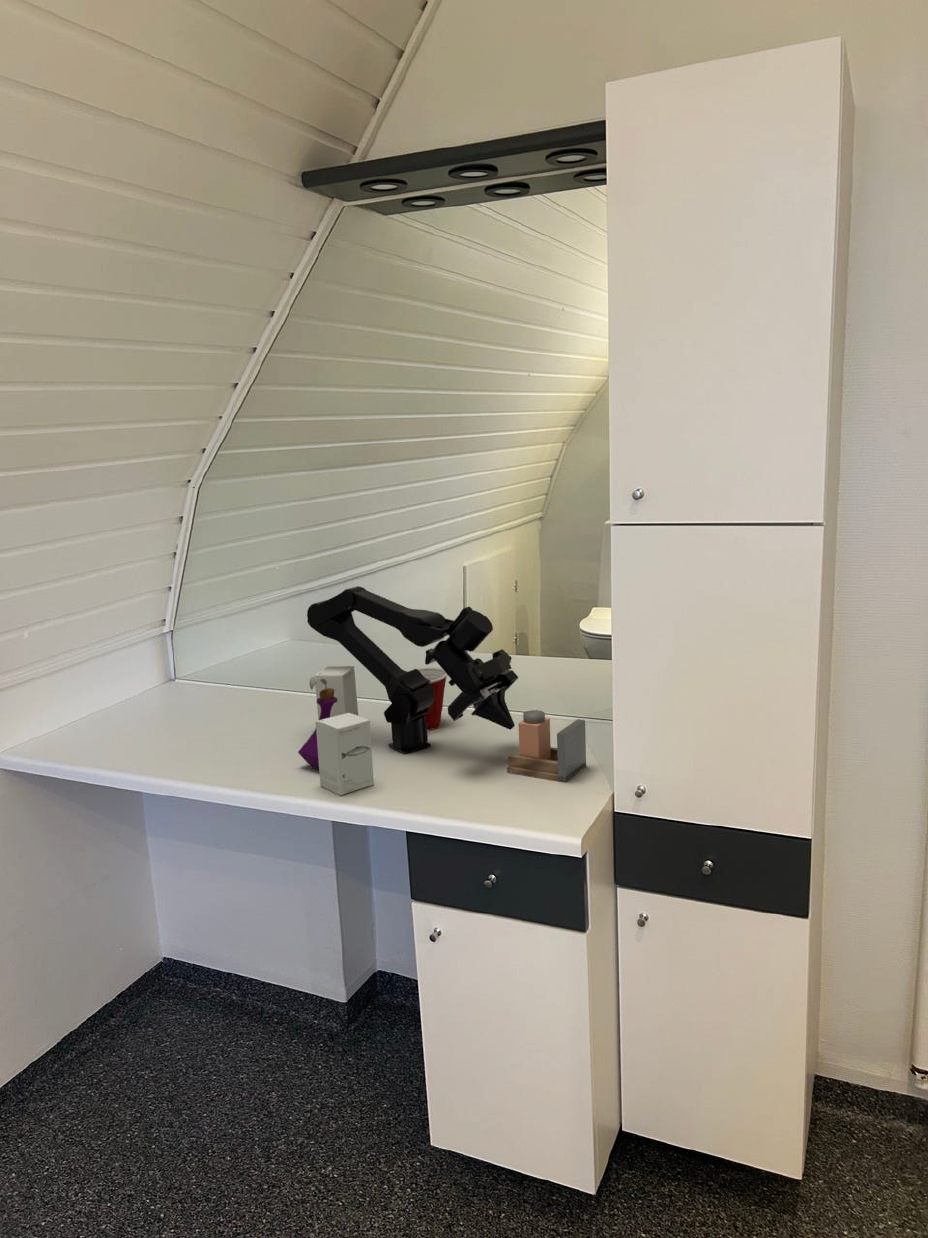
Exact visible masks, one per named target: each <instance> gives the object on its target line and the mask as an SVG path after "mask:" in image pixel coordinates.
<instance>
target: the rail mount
mask: <svg viewBox="0 0 928 1238" xmlns="http://www.w3.org/2000/svg"><path fill="white" fill-rule="evenodd" d="M586 741H587V740H586V720H585V719H580V718H578V719H575V720H574V721H573V722H572V723H570V724H569V725H567V726H566V727H564V728H562V729H561V730H560V731H559V732H557V733H556V746H557V747H554V746H553V747H552V746H551V759H550V760H544V759H537V758H531V757H525V756H520V755H518V754H511V753H510V754H509V755H508V756H507V758H508V759H507V760H508V766H507V767H506V773H507V772H512V773H511V774H513V773H517V774H516V775H519V774H524V775H523V776H525V775H528V776H527V777H531V776H534V777H533V778H537V777H538V778H537V779H544V780H550V781H557V782H561V783H567V782H568V781H570V780H571V779H572V778H573V777H575V776H576V775H577V774H578V773H580V770H581V769H582V770H583V769H585V768H586V767H587V750H586V749H587V748H586V747H587V745H586V744H587V743H586ZM582 770H581V771H582ZM575 774H576V775H575Z"/></svg>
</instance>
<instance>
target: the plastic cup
mask: <svg viewBox="0 0 928 1238" xmlns="http://www.w3.org/2000/svg"><path fill="white" fill-rule="evenodd" d="M414 669H415V668H413V669H409V670H406V671H407V672H409V671H411V670H414ZM416 669H417V670H419V671H420V673H421V674H422V675H423V676H424V677H425V678H426V679H428V680H430V681H431V682H429V684H431V686H432V687H433V689H434V695H435V698H434V702H433V704H432V705H431V706H430V709H429V713H428V714H425V715H423V716H425V722H426V723H427V731H430V730H435V729H437V728H439V727H440V726H441V725H440V724H441V721H442V720H441V719H442V714H443V713H442V712H443V707H444V695H445V687H446V682H447V677H448V675H447V673H446V672H445V671H444V670H443V669H442V668H441V667H437V666H428V667H427V666H426V667H420V668H417V667H416Z"/></svg>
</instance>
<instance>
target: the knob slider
mask: <svg viewBox="0 0 928 1238" xmlns="http://www.w3.org/2000/svg"><path fill="white" fill-rule="evenodd" d="M545 713H546V712H545V711H542V710H533V709H532V710H527V711H524V712H523V714H522V717H523V719H522V721H519V722H518V746H519V749H518V750H519V756H525V757H531V758H537V759H544V760H550V759H551V747H552V746H551V745H552V742H551V719H550V717H546V714H545Z"/></svg>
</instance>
